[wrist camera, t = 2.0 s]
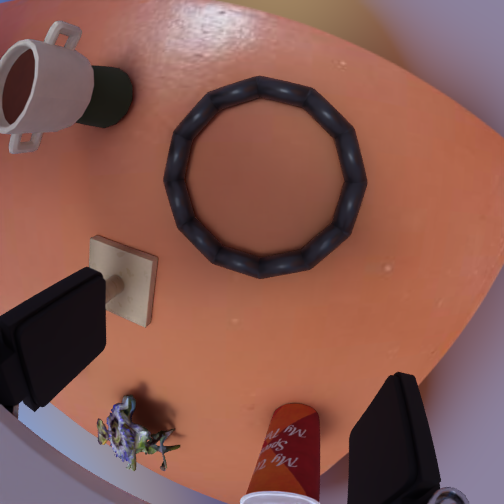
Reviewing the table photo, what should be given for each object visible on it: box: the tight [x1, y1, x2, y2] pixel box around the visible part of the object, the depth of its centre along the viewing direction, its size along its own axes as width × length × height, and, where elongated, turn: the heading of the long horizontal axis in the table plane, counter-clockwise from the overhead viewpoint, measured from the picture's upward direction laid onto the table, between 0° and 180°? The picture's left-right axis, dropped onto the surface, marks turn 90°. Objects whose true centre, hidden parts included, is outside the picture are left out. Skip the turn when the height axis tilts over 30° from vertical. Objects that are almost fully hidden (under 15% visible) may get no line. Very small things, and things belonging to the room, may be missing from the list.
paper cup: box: [240, 403, 320, 504], centre depth 26 cm, size 8×8×14 cm
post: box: [89, 235, 158, 328], centre depth 26 cm, size 8×8×11 cm
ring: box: [163, 76, 367, 279], centre depth 25 cm, size 17×17×2 cm
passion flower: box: [97, 395, 180, 471], centre depth 35 cm, size 11×11×12 cm
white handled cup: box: [0, 21, 133, 154], centre depth 20 cm, size 11×7×13 cm, turn 152°
